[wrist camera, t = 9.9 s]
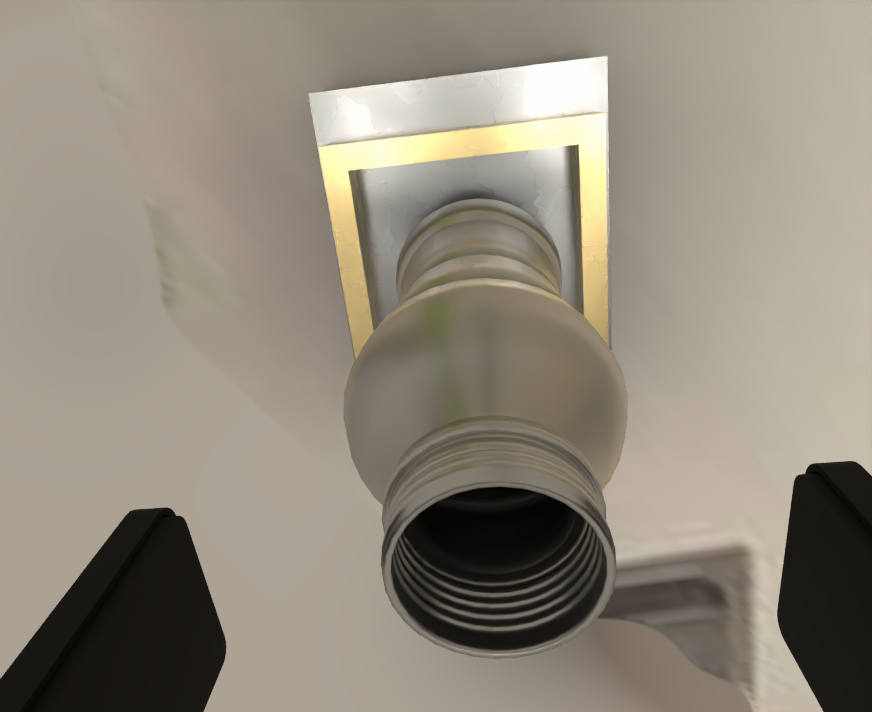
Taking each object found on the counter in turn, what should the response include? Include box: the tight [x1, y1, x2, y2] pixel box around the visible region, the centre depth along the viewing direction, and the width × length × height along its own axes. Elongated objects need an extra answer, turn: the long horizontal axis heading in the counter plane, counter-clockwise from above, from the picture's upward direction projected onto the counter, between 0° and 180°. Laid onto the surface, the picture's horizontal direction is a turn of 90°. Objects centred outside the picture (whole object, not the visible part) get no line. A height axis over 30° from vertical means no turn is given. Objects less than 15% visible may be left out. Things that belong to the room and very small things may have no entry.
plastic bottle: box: [344, 198, 627, 659], centre depth 19 cm, size 6×7×20 cm
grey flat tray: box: [308, 56, 611, 361], centre depth 29 cm, size 16×12×5 cm
